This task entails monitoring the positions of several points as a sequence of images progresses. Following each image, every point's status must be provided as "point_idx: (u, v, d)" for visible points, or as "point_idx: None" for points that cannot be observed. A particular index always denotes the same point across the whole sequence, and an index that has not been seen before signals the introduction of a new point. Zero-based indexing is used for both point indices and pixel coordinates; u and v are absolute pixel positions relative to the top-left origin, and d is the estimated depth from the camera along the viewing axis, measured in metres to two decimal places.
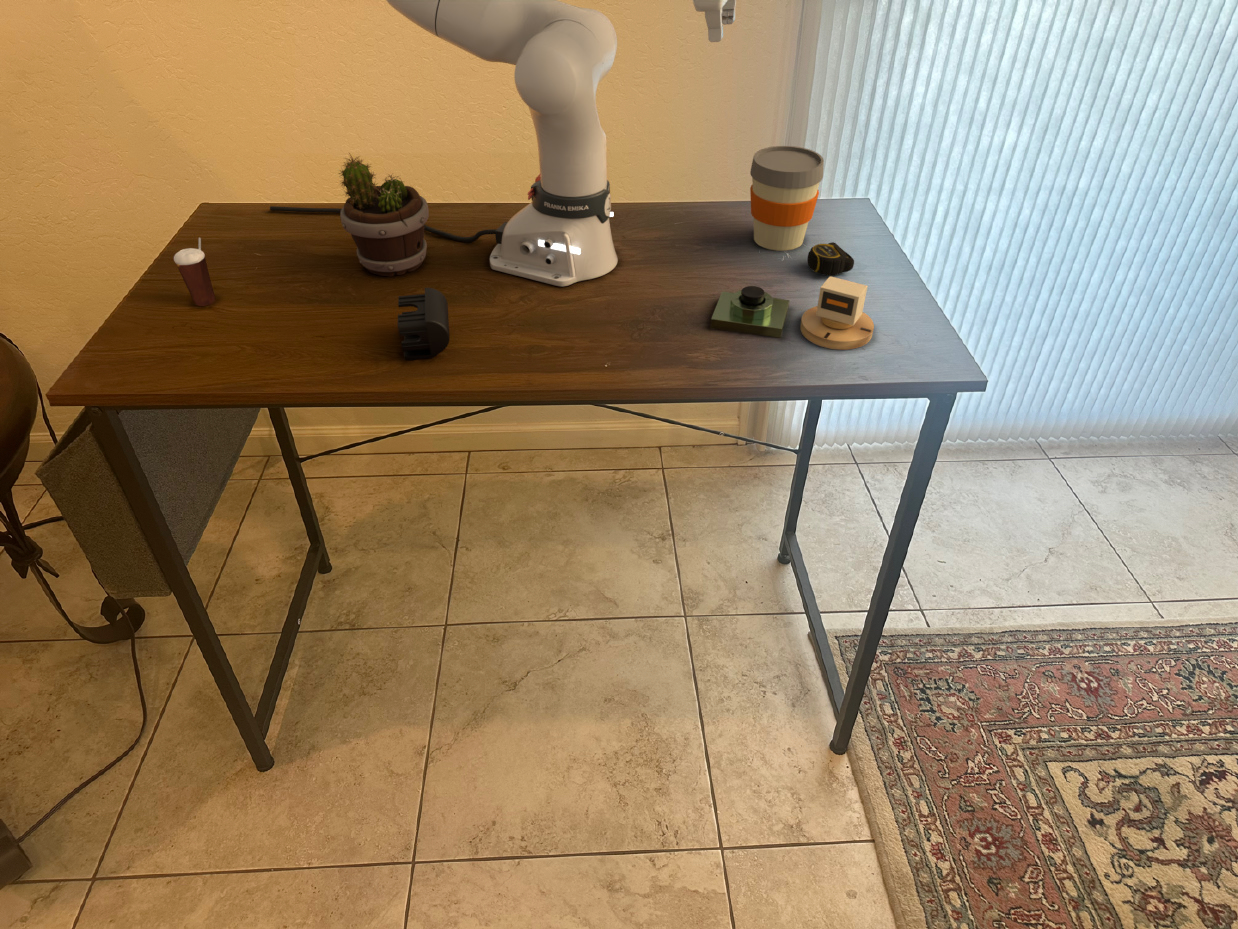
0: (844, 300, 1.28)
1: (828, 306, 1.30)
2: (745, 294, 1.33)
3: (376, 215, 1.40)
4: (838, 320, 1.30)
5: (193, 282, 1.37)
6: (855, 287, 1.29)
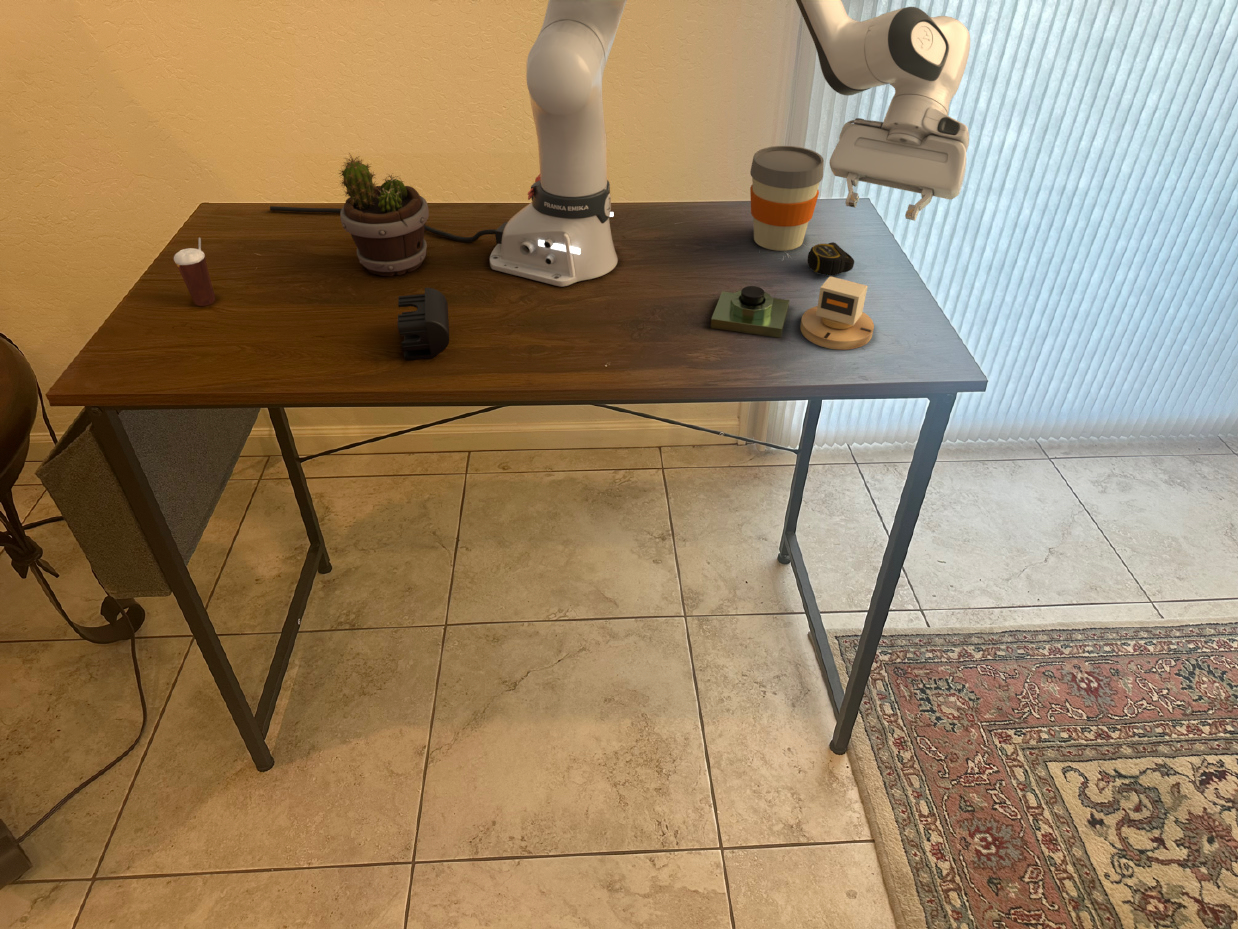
0: (844, 300, 1.28)
1: (828, 306, 1.30)
2: (745, 294, 1.33)
3: (376, 215, 1.40)
4: (838, 320, 1.30)
5: (193, 282, 1.37)
6: (855, 287, 1.29)
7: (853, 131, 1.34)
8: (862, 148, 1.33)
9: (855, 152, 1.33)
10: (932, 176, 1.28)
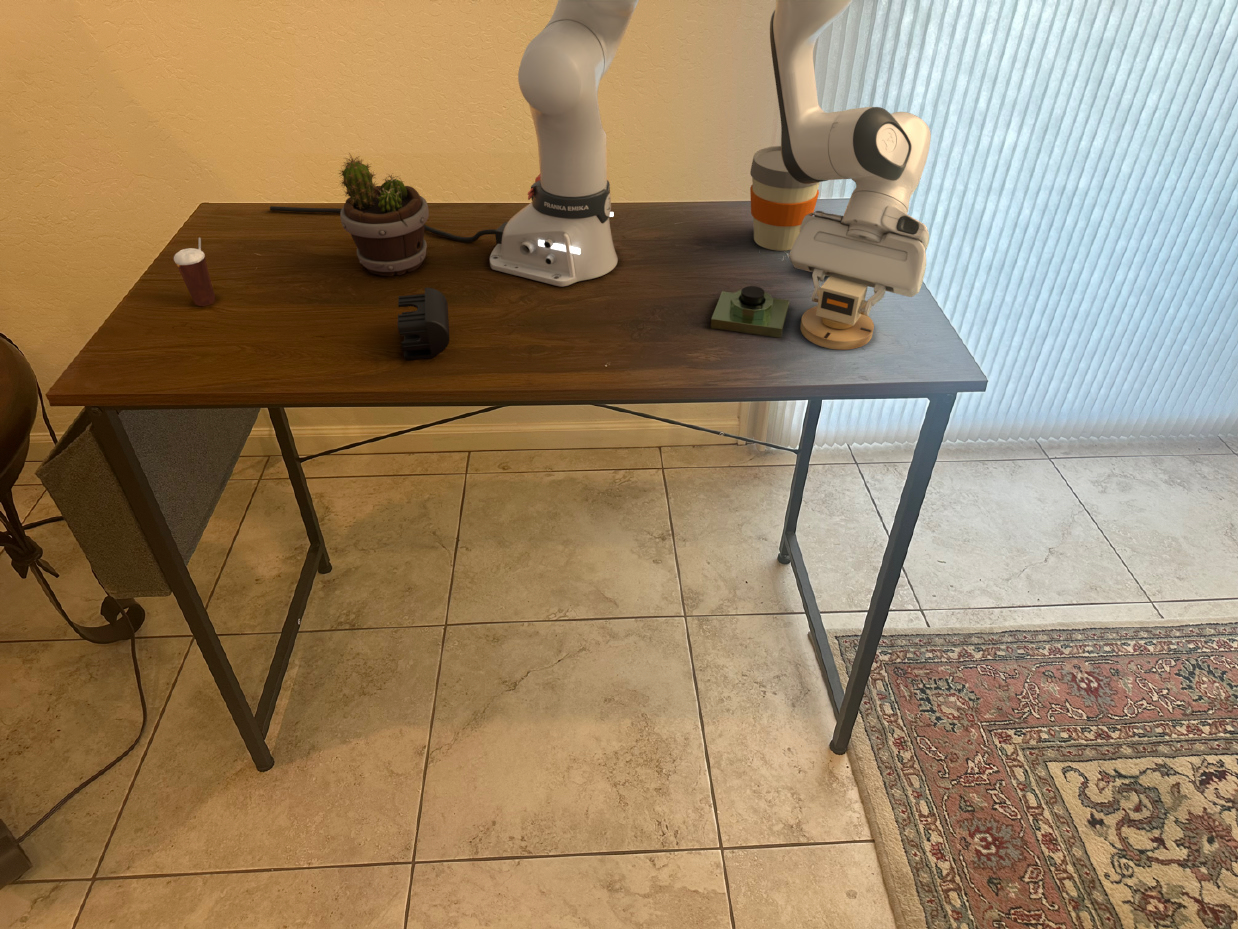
0: (844, 300, 1.28)
1: (828, 306, 1.30)
2: (745, 294, 1.33)
3: (376, 215, 1.40)
4: (838, 320, 1.30)
5: (193, 282, 1.37)
6: (855, 287, 1.29)
7: (812, 225, 1.32)
8: (822, 242, 1.31)
9: (815, 247, 1.31)
10: (892, 274, 1.27)
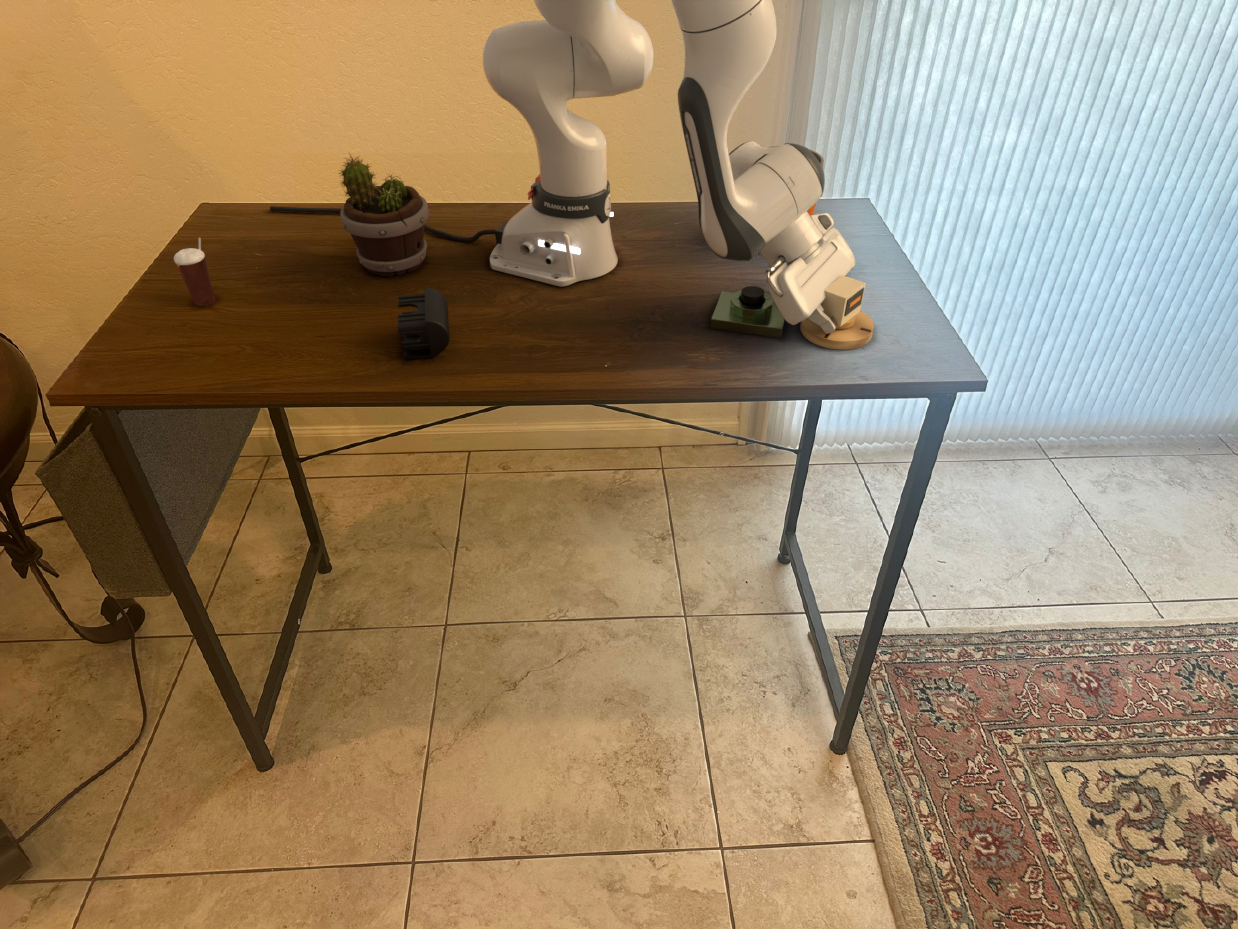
0: (859, 294, 1.29)
1: (848, 310, 1.29)
2: (745, 294, 1.33)
3: (376, 215, 1.40)
4: (852, 316, 1.31)
5: (193, 282, 1.37)
6: (846, 281, 1.30)
7: (790, 278, 1.24)
8: (805, 284, 1.26)
9: (807, 291, 1.25)
10: (843, 263, 1.33)
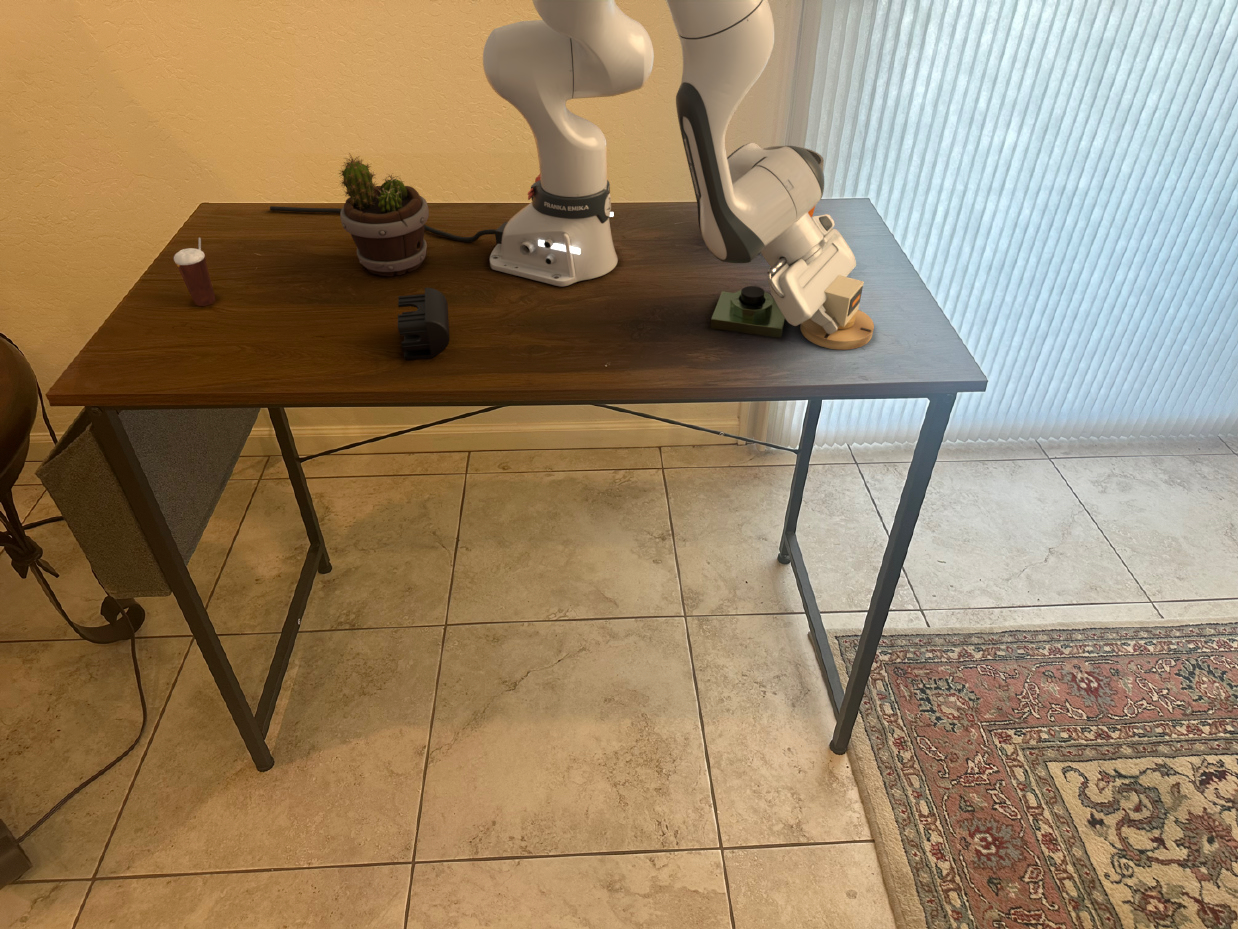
0: (859, 293, 1.29)
1: (850, 310, 1.29)
2: (745, 294, 1.33)
3: (376, 215, 1.40)
4: (853, 315, 1.31)
5: (193, 282, 1.37)
6: (844, 281, 1.30)
7: (792, 279, 1.24)
8: (807, 285, 1.26)
9: (808, 292, 1.25)
10: (845, 264, 1.33)
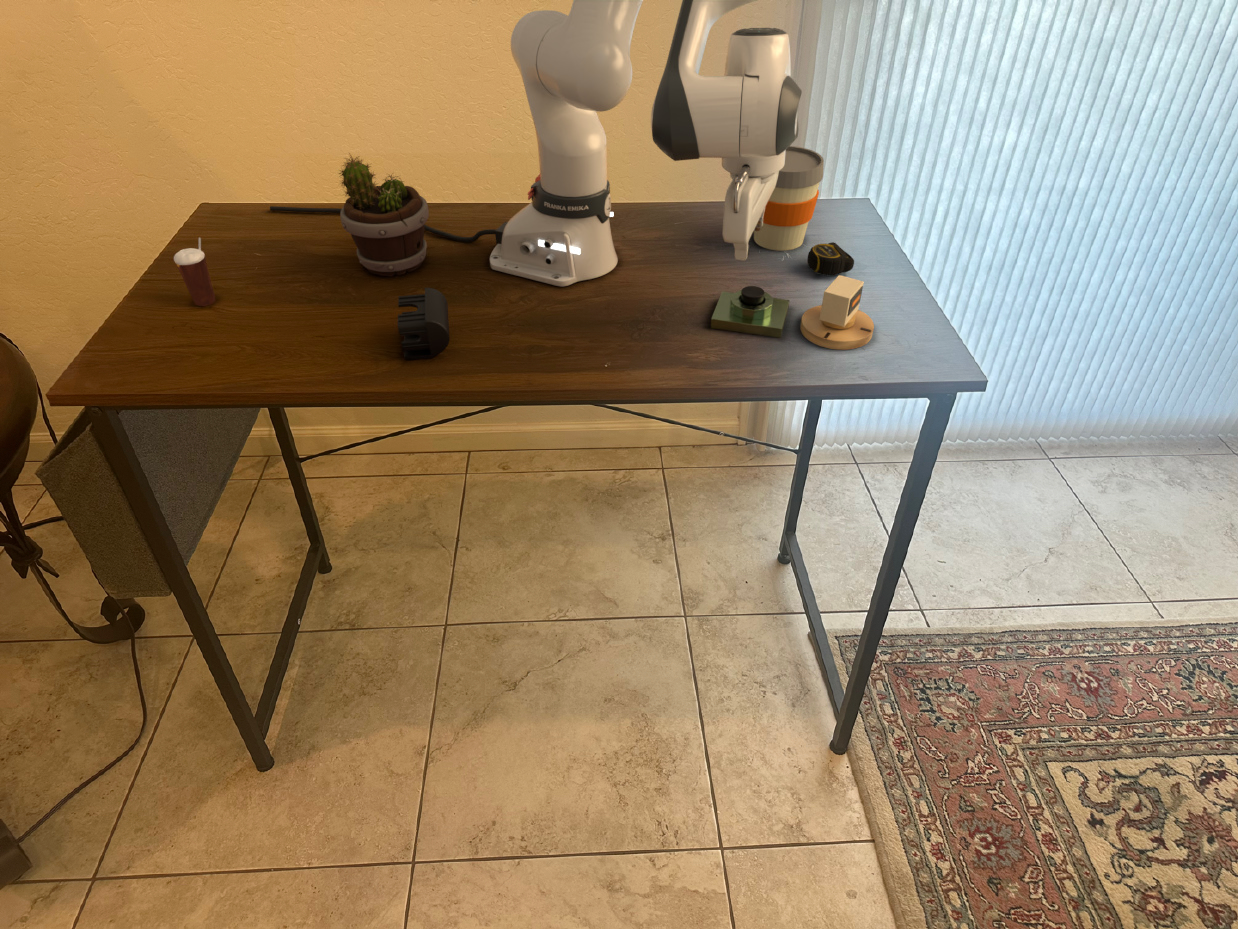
0: (859, 293, 1.29)
1: (850, 310, 1.29)
2: (745, 294, 1.33)
3: (376, 215, 1.40)
4: (853, 315, 1.31)
5: (193, 282, 1.37)
6: (844, 281, 1.30)
7: (752, 199, 1.16)
8: (755, 207, 1.19)
9: (753, 215, 1.19)
10: (771, 187, 1.29)
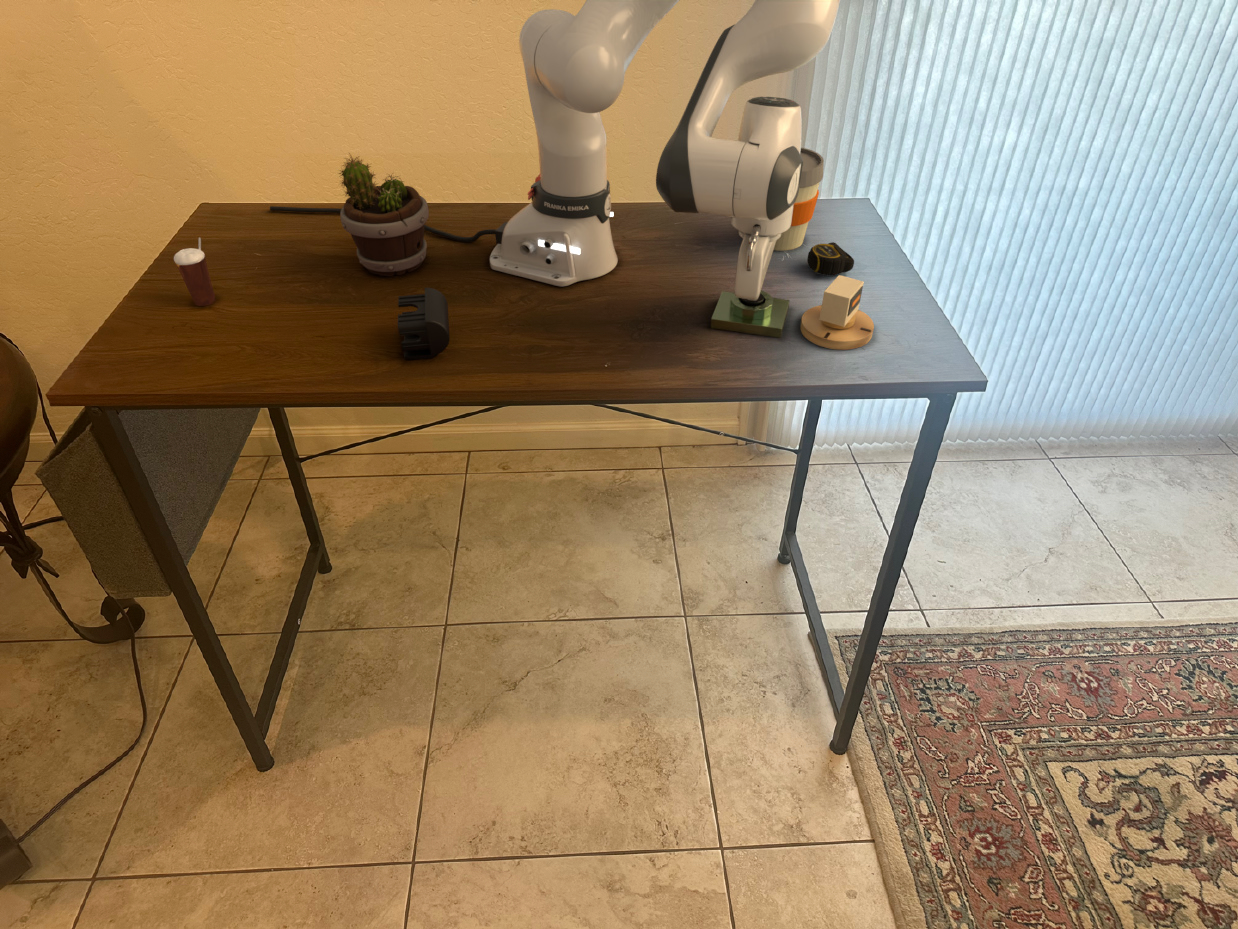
0: (859, 293, 1.29)
1: (850, 310, 1.29)
2: (744, 299, 1.33)
3: (376, 215, 1.40)
4: (853, 315, 1.31)
5: (193, 282, 1.37)
6: (844, 281, 1.30)
7: (764, 258, 1.21)
8: (764, 264, 1.24)
9: (763, 272, 1.24)
10: (774, 243, 1.34)
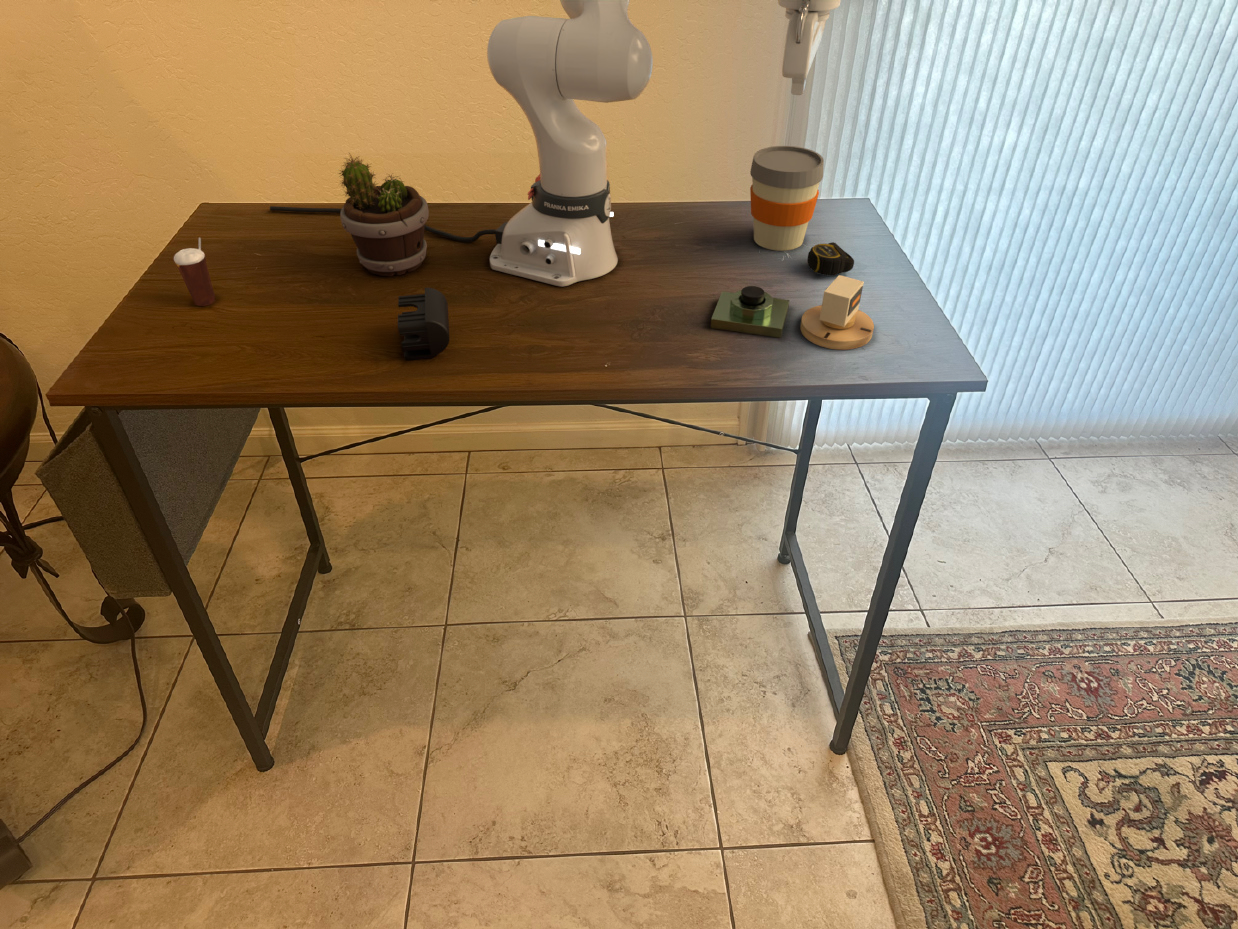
0: (859, 293, 1.29)
1: (850, 310, 1.29)
2: (745, 294, 1.33)
3: (376, 215, 1.40)
4: (853, 315, 1.31)
5: (193, 282, 1.37)
6: (844, 281, 1.30)
7: (814, 30, 1.18)
8: (813, 43, 1.21)
9: (811, 51, 1.21)
10: (819, 38, 1.31)
